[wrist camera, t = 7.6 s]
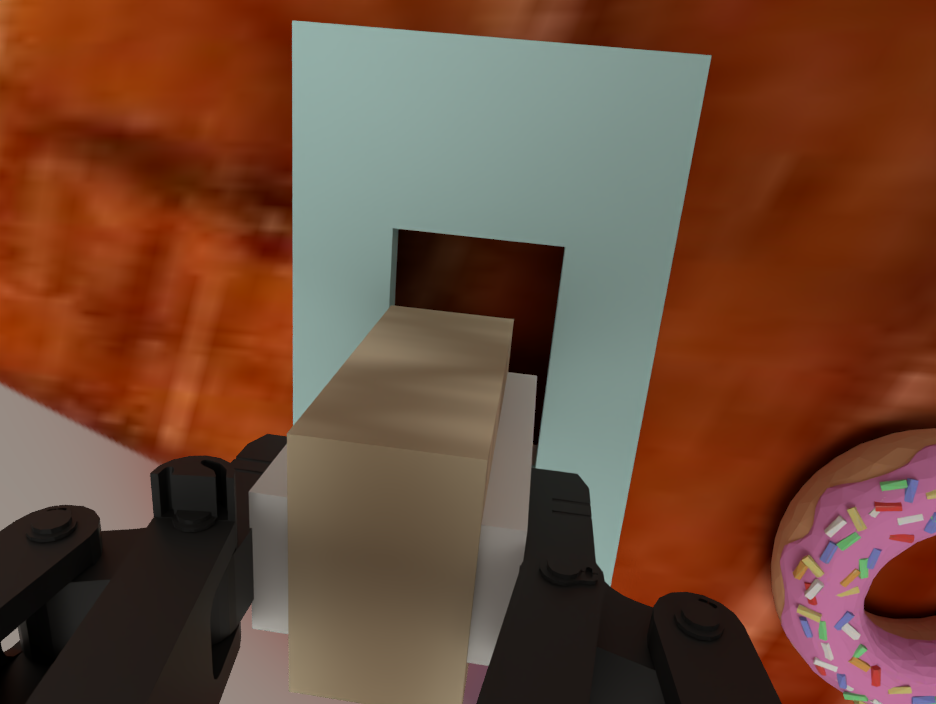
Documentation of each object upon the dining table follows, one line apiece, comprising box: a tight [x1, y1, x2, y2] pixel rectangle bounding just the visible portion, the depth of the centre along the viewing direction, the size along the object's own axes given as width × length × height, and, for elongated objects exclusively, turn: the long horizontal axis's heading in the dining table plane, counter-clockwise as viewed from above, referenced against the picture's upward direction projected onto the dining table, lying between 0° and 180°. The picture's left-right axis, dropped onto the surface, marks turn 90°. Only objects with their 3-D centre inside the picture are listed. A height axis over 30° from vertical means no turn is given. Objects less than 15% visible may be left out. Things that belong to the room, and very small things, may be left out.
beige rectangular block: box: [287, 305, 514, 704], centre depth 14 cm, size 3×5×7 cm, turn 175°
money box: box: [292, 21, 712, 586], centre depth 26 cm, size 11×18×11 cm, turn 175°
